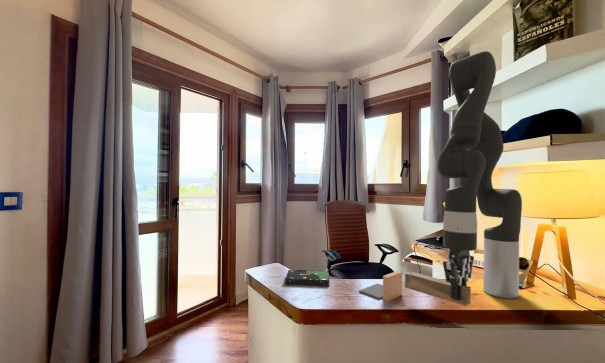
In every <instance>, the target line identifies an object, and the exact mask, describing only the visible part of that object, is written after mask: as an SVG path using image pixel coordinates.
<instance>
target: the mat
mask: <svg viewBox="0 0 605 363" xmlns="http://www.w3.org/2000/svg"><path fill="white" fill-rule="evenodd" d="M358 292H359V293H360V294H363V295H366V296H369V297H371V298H373V299H376V300H379V301H380V300H381V299H382V300H383V284H381V283H375V284H373V285H370V286H367V287H364V288H361V289H359V290H358Z"/></svg>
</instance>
